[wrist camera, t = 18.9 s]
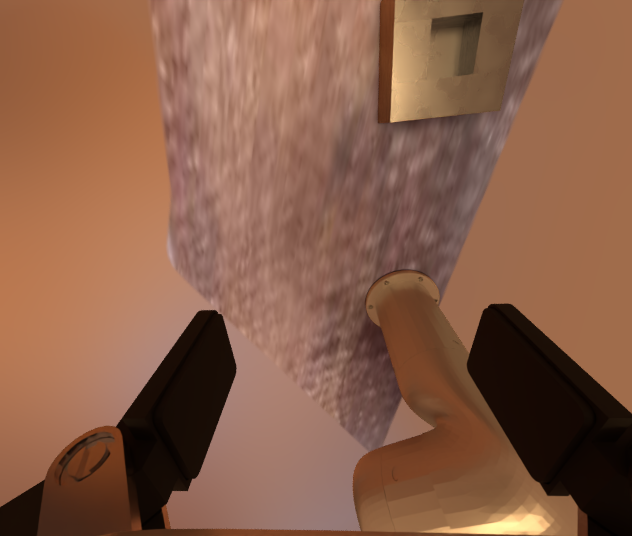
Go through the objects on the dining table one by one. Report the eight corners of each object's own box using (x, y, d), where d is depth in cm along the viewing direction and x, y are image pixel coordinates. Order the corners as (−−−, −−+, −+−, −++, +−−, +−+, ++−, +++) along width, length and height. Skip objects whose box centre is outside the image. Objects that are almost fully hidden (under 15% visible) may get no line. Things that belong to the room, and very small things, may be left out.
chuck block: (467, 113, 32) (500, 110, 26) (377, 122, 32) (390, 122, 27) (488, -12, 26) (534, -50, 21) (380, 3, 27) (396, -30, 21)
